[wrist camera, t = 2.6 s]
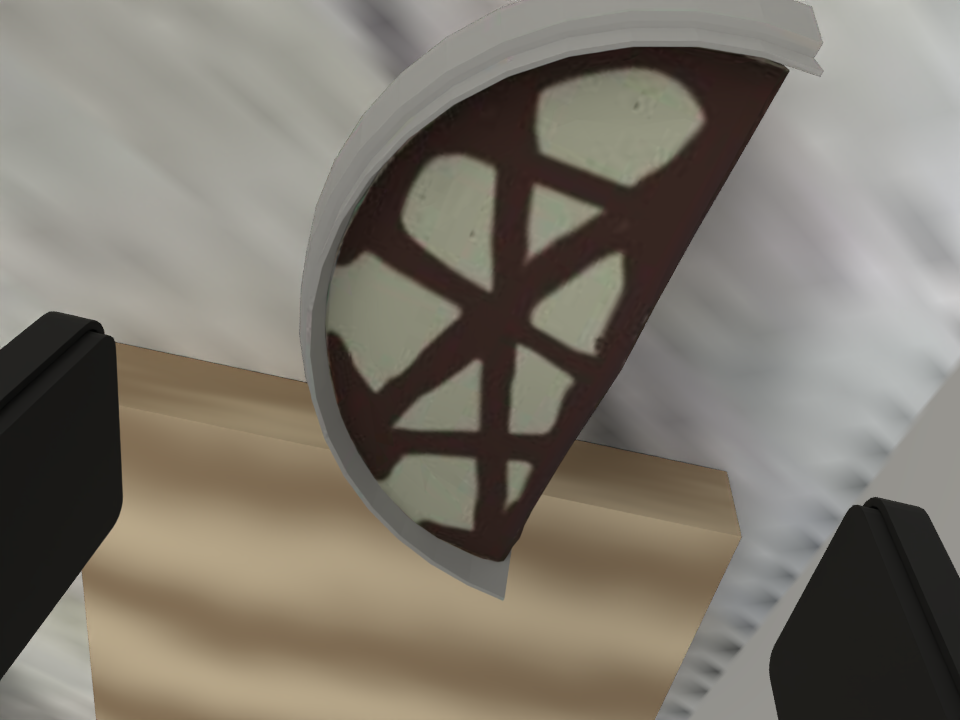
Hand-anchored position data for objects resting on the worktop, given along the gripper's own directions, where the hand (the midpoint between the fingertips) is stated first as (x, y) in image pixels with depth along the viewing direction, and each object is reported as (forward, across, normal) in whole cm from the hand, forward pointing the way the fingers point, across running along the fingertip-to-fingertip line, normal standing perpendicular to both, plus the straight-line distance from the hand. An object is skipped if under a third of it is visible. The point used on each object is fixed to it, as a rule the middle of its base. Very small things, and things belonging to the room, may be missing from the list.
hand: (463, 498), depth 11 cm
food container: (+14, +1, 0) cm, 14 cm away
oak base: (+14, +2, +16) cm, 22 cm away
